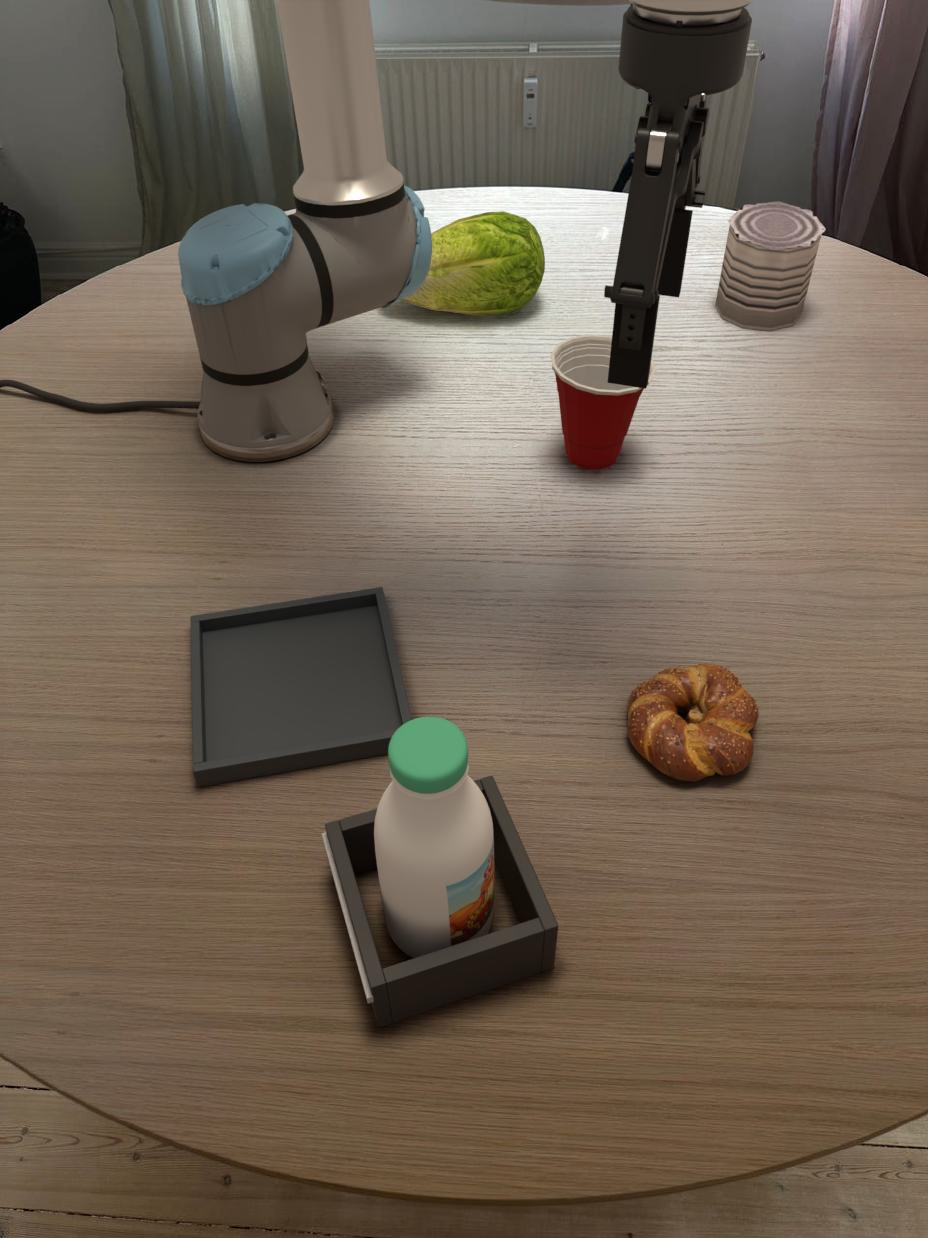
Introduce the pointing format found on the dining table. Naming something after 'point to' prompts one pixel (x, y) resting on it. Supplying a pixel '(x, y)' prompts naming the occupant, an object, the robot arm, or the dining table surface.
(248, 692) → the tray
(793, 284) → the can
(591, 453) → the plastic cup
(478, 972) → the collar base
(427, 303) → the lettuce
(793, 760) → the dining table surface
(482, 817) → the milk bottle
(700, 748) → the pretzel
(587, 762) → the dining table surface
